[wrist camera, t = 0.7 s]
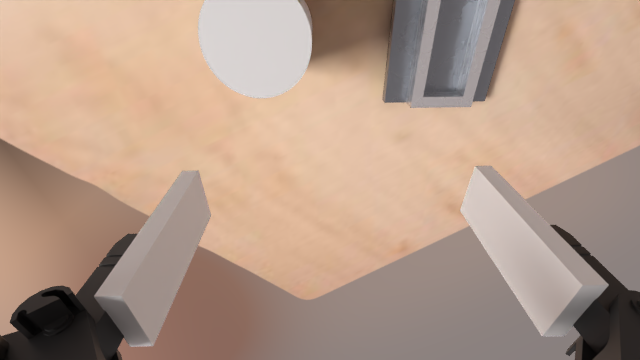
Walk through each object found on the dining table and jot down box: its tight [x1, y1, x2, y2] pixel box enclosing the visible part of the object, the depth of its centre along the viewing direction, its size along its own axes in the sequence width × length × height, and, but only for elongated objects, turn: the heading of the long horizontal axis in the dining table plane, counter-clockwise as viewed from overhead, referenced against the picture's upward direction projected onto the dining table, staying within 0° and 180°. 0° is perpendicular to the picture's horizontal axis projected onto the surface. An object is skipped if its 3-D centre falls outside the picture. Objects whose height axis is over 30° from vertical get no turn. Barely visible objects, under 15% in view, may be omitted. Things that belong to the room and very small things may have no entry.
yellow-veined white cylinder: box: [198, 0, 312, 98], centre depth 26 cm, size 8×8×12 cm
